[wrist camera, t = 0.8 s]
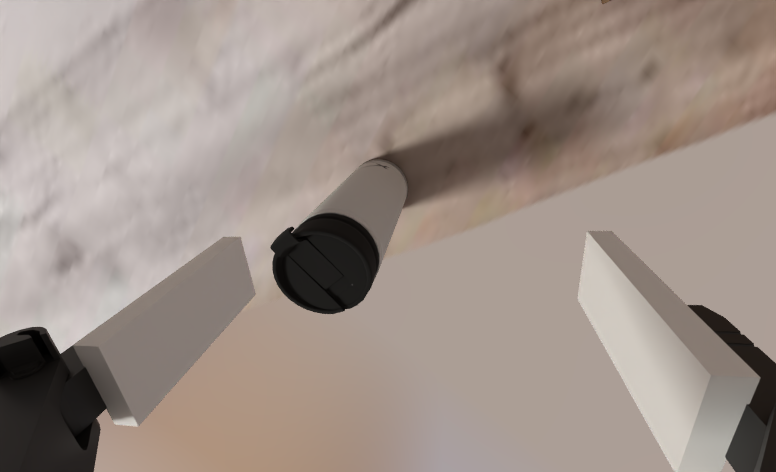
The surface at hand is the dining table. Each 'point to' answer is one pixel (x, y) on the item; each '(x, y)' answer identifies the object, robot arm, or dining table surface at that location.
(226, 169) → the dining table surface
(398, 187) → the travel mug
